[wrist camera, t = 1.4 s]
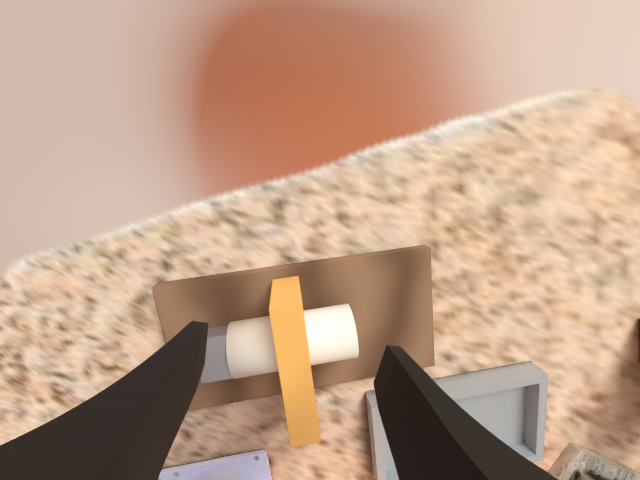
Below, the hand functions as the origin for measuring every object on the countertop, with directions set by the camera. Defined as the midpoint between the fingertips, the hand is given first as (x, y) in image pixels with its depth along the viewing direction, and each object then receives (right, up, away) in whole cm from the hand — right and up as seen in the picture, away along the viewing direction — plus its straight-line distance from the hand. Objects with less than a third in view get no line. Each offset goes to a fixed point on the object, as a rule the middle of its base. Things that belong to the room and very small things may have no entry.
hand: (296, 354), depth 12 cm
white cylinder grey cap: (-1, -3, +12) cm, 13 cm away
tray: (+14, -13, +17) cm, 26 cm away
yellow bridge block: (-1, -3, +12) cm, 12 cm away
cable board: (0, -3, +14) cm, 14 cm away
